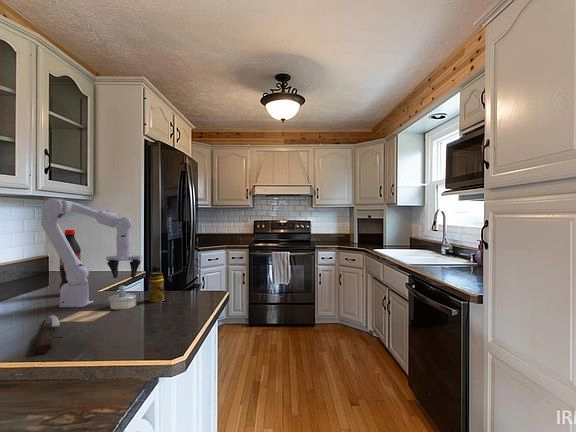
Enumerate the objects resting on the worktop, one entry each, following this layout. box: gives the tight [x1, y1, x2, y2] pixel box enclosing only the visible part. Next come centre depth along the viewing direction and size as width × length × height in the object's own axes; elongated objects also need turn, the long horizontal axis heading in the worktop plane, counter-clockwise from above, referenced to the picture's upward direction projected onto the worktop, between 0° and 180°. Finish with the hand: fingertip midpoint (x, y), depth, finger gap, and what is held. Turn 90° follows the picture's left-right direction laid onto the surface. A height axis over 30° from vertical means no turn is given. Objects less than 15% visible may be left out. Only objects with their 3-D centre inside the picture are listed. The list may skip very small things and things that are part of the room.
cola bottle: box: [58, 229, 82, 290], centre depth 155 cm, size 8×8×30 cm
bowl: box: [109, 297, 137, 310], centre depth 132 cm, size 9×9×4 cm
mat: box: [59, 310, 112, 323], centre depth 119 cm, size 12×12×1 cm
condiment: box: [148, 271, 165, 303], centre depth 140 cm, size 7×8×12 cm
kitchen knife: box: [34, 314, 61, 354], centre depth 103 cm, size 36×2×5 cm
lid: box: [107, 285, 137, 302], centre depth 132 cm, size 10×10×5 cm
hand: (124, 277), depth 141 cm, fingers open, 7 cm apart
